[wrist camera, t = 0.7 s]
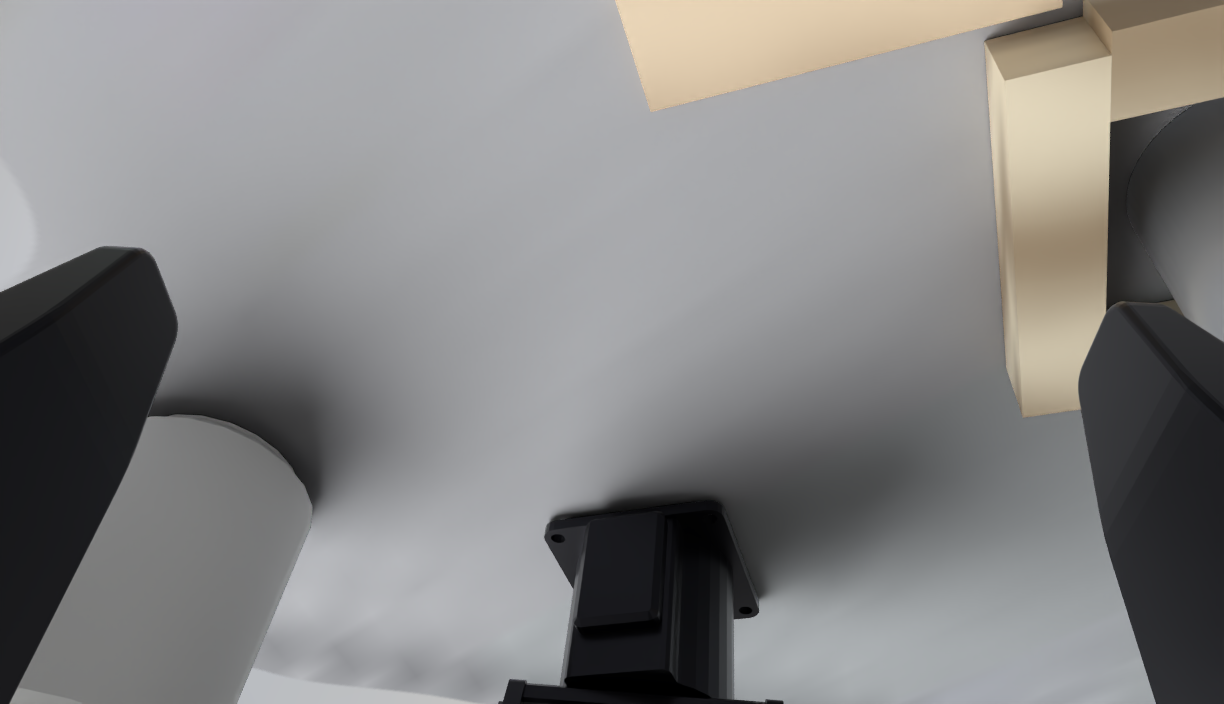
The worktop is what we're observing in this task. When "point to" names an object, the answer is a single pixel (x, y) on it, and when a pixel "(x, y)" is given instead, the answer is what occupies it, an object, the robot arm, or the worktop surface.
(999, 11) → the wooden panel
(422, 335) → the worktop surface
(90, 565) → the can
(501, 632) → the worktop surface
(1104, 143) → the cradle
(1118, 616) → the worktop surface
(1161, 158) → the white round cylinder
